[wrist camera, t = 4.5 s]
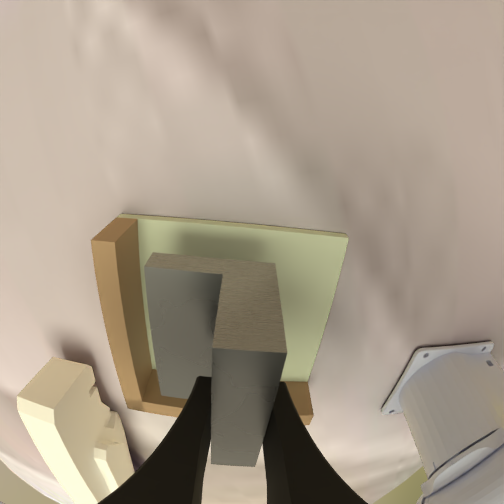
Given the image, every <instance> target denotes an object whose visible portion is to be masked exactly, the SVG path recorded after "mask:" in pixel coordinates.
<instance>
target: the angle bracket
mask: <svg viewBox="0 0 504 504" xmlns="http://www.w3.org/2000/svg"><path fill="white" fill-rule="evenodd" d="M144 272H145V284H146V294H147V304H148V313H149V321H150V329H151V336H152V343H153V350H154V357H155V363H156V369H157V375H158V381H159V386H160V392H161V395H162V396H168V397H175V398H182V399H188V398H189V396H190V394H191V391H192V389H193V386H194V384H195V381H196V378H197V377H198V376H206V377H211V464H217V465H230V466H250V467H255V465H256V462H257V459H258V455H259V452H260V449H261V446H262V442H263V439H264V436H265V432H266V429H267V426H268V422H269V419H270V415H271V412H272V408H273V405H274V401H275V398H276V394H277V390H278V387H279V383H280V379H281V376H282V372H283V368H284V364H285V360H286V356H287V346H286V338H285V330H284V323H283V315H282V308H281V301H280V294H279V286H278V279H277V272H276V265H275V263H266V262H255V261H244V260H232V259H221V258H210V257H199V256H189V255H178V254H167V253H157V252H152V254H151V256H150V257H149V259H148V261H147V262H146V264H145V266H144Z"/></svg>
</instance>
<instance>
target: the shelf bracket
mask: <svg viewBox="0 0 504 504" xmlns="http://www.w3.org/2000/svg"><path fill="white" fill-rule="evenodd" d="M94 383H95V377H94V374H93V369H92V367H91V366H89V365H87V364H82V363H77V362H73V361H68V360H64V359H60V358H56V357H52V359H51V360H50V361H49V362H48V363H47V364H46V365H45V366H44V367H43V368H42V369H41V370H40V371H39V372H38V373H37V374H36V376H35V377H34V378H33V379H32V380H31V381H30V382H29V383H28V384H27V385H26V386H25V388H24V389H23V390H22V391H21V392H20V393H19V394H18V395H17V407H18V412H19V414H20V416H21V418H22V420H23V422H24V424H25V426H26V428H27V430H28V432H29V434H30V436H31V438H32V439H33V441H34V443H35V445H36V447H37V448H38V450H39V452H40V453H41V455H42V457H43V458H44V460H45V462H46V463H47V465H48V467H49V468H50V470H51V471H52V473H53V474H54V476H55V477H56V479H57V480H58V482H59V483H60V485H61V486H62V487H63V489H64V490H65V491H66V493H67V494H68V495H69V496H70V498H71V499H72V500H73V501H74V502H75V504H97V503H99V502H100V501H101V500H103V499H104V498H105V497H107V496H108V495H109V494H111V493H112V492H113V491H115V490H116V489H117V488H118V487H119V486H121V485H122V484H123V483H124V482H125V481H126V480H127V479H128V478H129V477H131V476H132V475H133V474H134V473H135V472H134V468H133V464H132V461H131V457H130V453H129V449H128V445H127V441H126V436H125V432H124V429H123V425H122V422H121V419H120V417H119V415H118V413H117V412H114V411H110V408H109V407H108V406H106V405H105V404H103V403H102V402H101V399H100V396H99V392H98V389H97V387H93V384H94Z"/></svg>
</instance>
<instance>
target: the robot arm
mask: <svg viewBox="0 0 504 504" xmlns="http://www.w3.org/2000/svg"><path fill="white" fill-rule="evenodd" d="M493 347H494V344H493V342H492V341H490V342H482V343H473V344H464V345H454V346H442V347H429V348H420V349H418V350H417V351H416V352H415V353H414V355H413V357H412V359H411V360H410V362H409V364H408V366H407V368H406V370H405V371H404V373H403V375H402V377H401V378H400V380H399V382H398V384H397V385H396V387H395V389H394V390H393V392H392V394H391V395H390V397H389V398H388V400H387V402H386V403H385V405H384V406H383V408H382V409H381V412H382V414H383V415H388V414H396V413H404V415H405V418H406V420H407V423H408V426H409V428H410V431H411V433H412V436H413V439H414V441H415V444H416V447H417V449H418V452H419V455H420V458H421V461H422V463H423V466H424V469H425V472H426V475H427V478H428V481H426V482H425V483H423V484H422V485H421V488H422V491H423V494H422V495H421V496H420V498H419V499H418V501H417V504H504V371H503V370H502V368H501V367H500V365H499V364H498V363H497V361H496V360H495V359H494V357H493V356H492V354H491V353H490V352H491V350H492V349H493ZM210 441H211V377H206V376H198V377H197V378H196V381H195V384H194V386H193V389H192V391H191V394H190V396H189V398H188V400H187V402H186V404H185V406H184V407H183V409H182V411H181V413H180V414H179V416H178V418H177V420H176V421H175V423H174V424H173V426H172V427H171V429H170V430H169V432H168V433H167V435H166V436H165V438H164V439H163V440H162V442H161V443H160V444H159V446H158V447H157V448H156V449H155V451H154V452H153V453H152V454H151V456H150V457H149V458H148V459H147V460H146V461H145V462H144V463H143V464H142V466H141V467H140V468H139V469H138V470H137V471H136V472H135V473H134V474H133V475H132V476H131V477H129V478H128V479H127V480H126V481H125V482H124V483H123V484H122V485H121V486H119V487H118V488H117V489H116V490H115V491H113V492H112V493H111V494H109V495H108V496H107V497H105V498H104V499H103V500H101V501H100V502H99V503H97V504H201V500H202V486H203V478H204V472H205V467H206V462H207V456H208V451H209V446H210ZM262 443H263V452H264V461H265V470H266V479H267V504H368V503H366V502H365V501H364V500H363V499H362V498H361V497H360V496H359V495H357V494H356V493H355V492H354V491H353V490H352V489H351V488H350V487H349V486H348V485H347V484H346V483H345V481H344V480H343V479H342V478H341V477H340V476H339V475H338V474H337V473H336V471H335V470H334V469H333V468H332V467H331V465H330V464H329V463H328V461H327V460H326V459H325V457H324V456H323V455H322V453H321V452H320V450H319V449H318V447H317V446H316V444H315V443H314V441H313V439H312V438H311V436H310V434H309V433H308V431H307V429H306V427H305V425H304V424H303V422H302V420H301V418H300V416H299V414H298V412H297V410H296V408H295V405H294V403H293V401H292V398H291V396H290V393H289V391H288V388H287V385H286V383H285V382H280V383H279V387H278V390H277V394H276V398H275V401H274V405H273V408H272V412H271V415H270V419H269V422H268V426H267V429H266V432H265V436H264V439H263V442H262ZM0 504H4V503H3V502H1V501H0Z"/></svg>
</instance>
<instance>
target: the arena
mask: <svg viewBox="0 0 504 504" xmlns="http://www.w3.org/2000/svg"><path fill="white" fill-rule="evenodd" d="M348 239H349V238H348V237H347V235H346V234H343V233H334V232H325V231H316V230H306V229H297V228H287V227H277V226H267V225H256V224H246V223H235V222H223V221H212V220H200V219H187V218H174V217H161V216H147V215H132V214H120V215H119V216H118V217H117V218H115V219H114V220H113V221H112V222H111V223H110V224H108V225H107V226H106V227H105V228H104V229H103V230H102V231H101V232H99V233H98V234H97V235H96V236H95V237H94V238H93V239H92V240H91V245H92V253H93V260H94V268H95V274H96V280H97V286H98V292H99V298H100V303H101V308H102V313H103V318H104V323H105V327H106V332H107V336H108V340H109V345H110V349H111V353H112V356H113V360H114V364H115V368H116V371H117V375H118V378H119V382H120V385H121V388H122V392H123V395H124V398H125V401H126V404H127V407H128V408H129V409H133V410H138V411H143V412H149V413H154V414H160V415H166V416H173V417H178V416H179V414H180V413H181V411H182V409H183V407H184V406H185V404H186V402H187V400H188V399H182V398H175V397H168V396H162V395H161V392H160V386H159V381H158V375H157V369H156V363H155V357H154V350H153V343H152V336H151V329H150V321H149V313H148V304H147V294H146V284H145V272H144V266H145V264H146V262H147V261H148V259H149V257H150V256H151V254H152V252H157V253H167V254H178V255H189V256H199V257H210V258H221V259H232V260H244V261H255V262H266V263H275V265H276V272H277V279H278V286H279V294H280V301H281V308H282V315H283V323H284V330H285V338H286V346H287V356H286V360H285V364H284V368H283V372H282V376H281V379H280V382H285V383H286V385H287V388H288V391H289V393H290V396H291V398H292V401H293V403H294V405H295V408H296V410H297V412H298V414H299V416H300V418H301V420H302V422H303V424H304V425H309V424H310V422H311V420H312V418H313V409H312V404H311V398H310V392H309V387H308V379H309V376H310V373H311V370H312V367H313V364H314V361H315V358H316V355H317V352H318V349H319V346H320V342H321V339H322V336H323V333H324V329H325V326H326V323H327V319H328V316H329V312H330V309H331V305H332V302H333V298H334V295H335V291H336V287H337V283H338V280H339V276H340V272H341V268H342V264H343V260H344V256H345V252H346V248H347V243H348Z"/></svg>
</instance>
